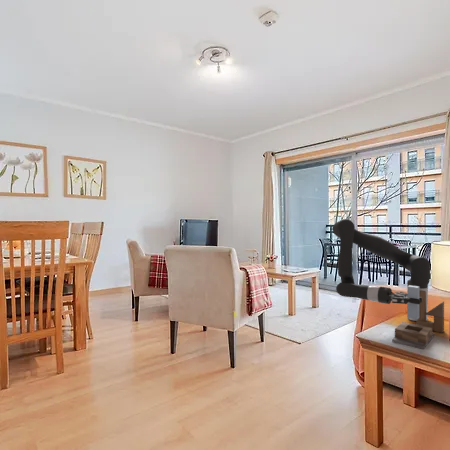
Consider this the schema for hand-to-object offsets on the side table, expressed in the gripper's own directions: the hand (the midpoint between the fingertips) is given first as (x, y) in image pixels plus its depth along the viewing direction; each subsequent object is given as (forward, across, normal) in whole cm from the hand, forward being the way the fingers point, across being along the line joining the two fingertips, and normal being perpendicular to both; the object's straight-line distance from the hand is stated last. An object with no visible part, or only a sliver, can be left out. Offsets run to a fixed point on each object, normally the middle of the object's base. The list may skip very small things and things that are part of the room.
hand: (420, 300), depth 140 cm
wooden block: (0, +17, +18) cm, 25 cm away
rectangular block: (-3, 0, +8) cm, 9 cm away
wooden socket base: (-3, 0, +17) cm, 18 cm away
